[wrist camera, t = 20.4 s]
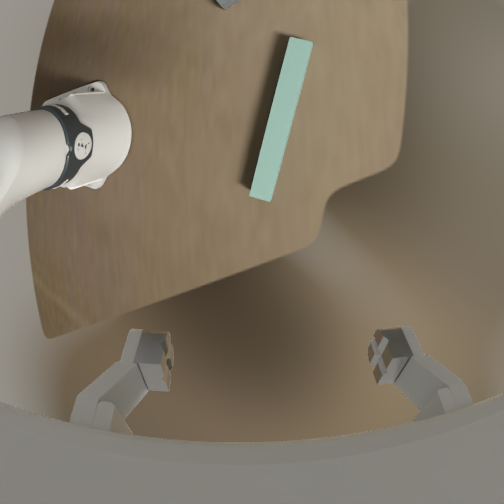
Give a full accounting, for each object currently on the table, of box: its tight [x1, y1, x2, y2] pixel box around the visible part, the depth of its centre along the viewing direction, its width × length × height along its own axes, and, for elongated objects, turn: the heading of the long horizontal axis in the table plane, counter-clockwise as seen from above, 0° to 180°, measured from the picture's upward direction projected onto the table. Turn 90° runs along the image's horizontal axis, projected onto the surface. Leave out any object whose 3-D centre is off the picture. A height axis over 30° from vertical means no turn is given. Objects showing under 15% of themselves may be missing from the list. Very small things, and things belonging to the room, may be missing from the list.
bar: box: [249, 37, 313, 202], centre depth 40 cm, size 23×3×3 cm, turn 167°
